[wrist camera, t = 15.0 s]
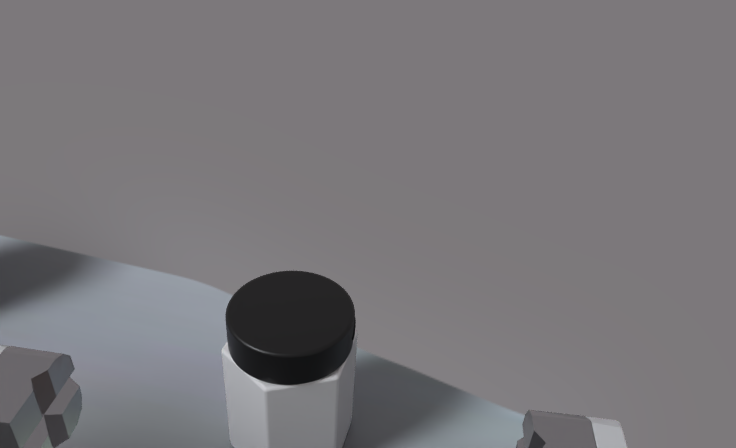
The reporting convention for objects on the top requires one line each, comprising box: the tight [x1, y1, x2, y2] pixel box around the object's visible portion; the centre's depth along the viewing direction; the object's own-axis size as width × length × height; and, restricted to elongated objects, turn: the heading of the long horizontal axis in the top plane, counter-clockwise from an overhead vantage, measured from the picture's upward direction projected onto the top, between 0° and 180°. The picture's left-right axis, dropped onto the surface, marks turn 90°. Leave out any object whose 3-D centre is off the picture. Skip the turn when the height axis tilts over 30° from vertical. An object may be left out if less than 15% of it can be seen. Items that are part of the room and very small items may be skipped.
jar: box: [221, 271, 358, 448], centre depth 44 cm, size 9×8×12 cm
